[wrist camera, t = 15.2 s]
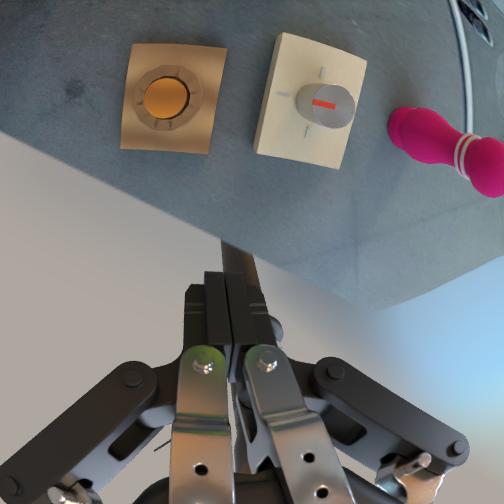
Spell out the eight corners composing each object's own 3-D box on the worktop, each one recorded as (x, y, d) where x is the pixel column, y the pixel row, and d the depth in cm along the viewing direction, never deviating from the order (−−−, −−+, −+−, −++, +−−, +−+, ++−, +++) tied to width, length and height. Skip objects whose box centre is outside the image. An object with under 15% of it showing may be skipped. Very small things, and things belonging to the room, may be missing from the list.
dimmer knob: (337, 88, 24) (360, 91, 20) (330, 124, 27) (352, 134, 23) (298, 79, 24) (316, 78, 19) (292, 117, 26) (308, 125, 22)
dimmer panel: (329, 162, 33) (339, 170, 30) (252, 147, 30) (256, 154, 28) (355, 61, 25) (368, 61, 22) (276, 36, 23) (283, 31, 20)
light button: (184, 117, 24) (182, 119, 23) (145, 115, 23) (141, 117, 22) (190, 79, 22) (188, 79, 21) (150, 78, 21) (146, 77, 20)
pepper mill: (411, 94, 28) (533, 135, 11) (428, 136, 31) (535, 194, 15) (376, 118, 30) (499, 173, 13) (397, 160, 33) (502, 234, 17)
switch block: (208, 150, 30) (208, 158, 27) (125, 144, 28) (114, 152, 24) (226, 51, 23) (228, 46, 20) (137, 46, 21) (127, 41, 18)
